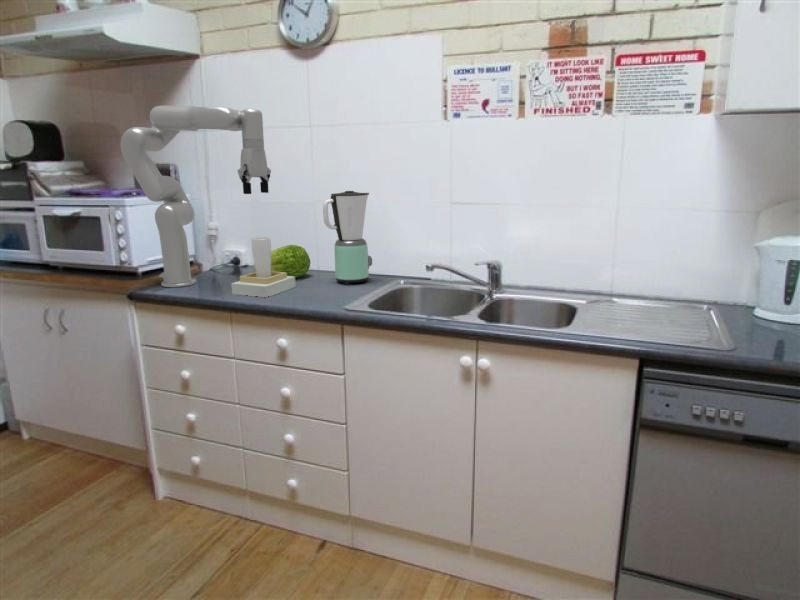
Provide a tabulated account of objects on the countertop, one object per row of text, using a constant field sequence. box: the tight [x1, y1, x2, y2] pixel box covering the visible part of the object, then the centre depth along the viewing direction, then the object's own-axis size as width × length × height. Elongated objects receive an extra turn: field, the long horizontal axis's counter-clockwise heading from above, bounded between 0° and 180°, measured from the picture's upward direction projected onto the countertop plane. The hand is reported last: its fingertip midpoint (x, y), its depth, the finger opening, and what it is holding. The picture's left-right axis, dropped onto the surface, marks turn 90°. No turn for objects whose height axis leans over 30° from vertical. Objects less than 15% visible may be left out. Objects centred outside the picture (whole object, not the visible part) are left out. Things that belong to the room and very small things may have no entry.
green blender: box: [322, 190, 373, 286], centre depth 206 cm, size 19×13×35 cm
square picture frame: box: [230, 271, 297, 298], centre depth 198 cm, size 15×19×6 cm
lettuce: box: [252, 244, 311, 279], centre depth 220 cm, size 15×24×14 cm, turn 72°
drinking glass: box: [251, 236, 272, 278], centre depth 196 cm, size 7×7×15 cm
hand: (256, 193), depth 199 cm, fingers open, 9 cm apart
